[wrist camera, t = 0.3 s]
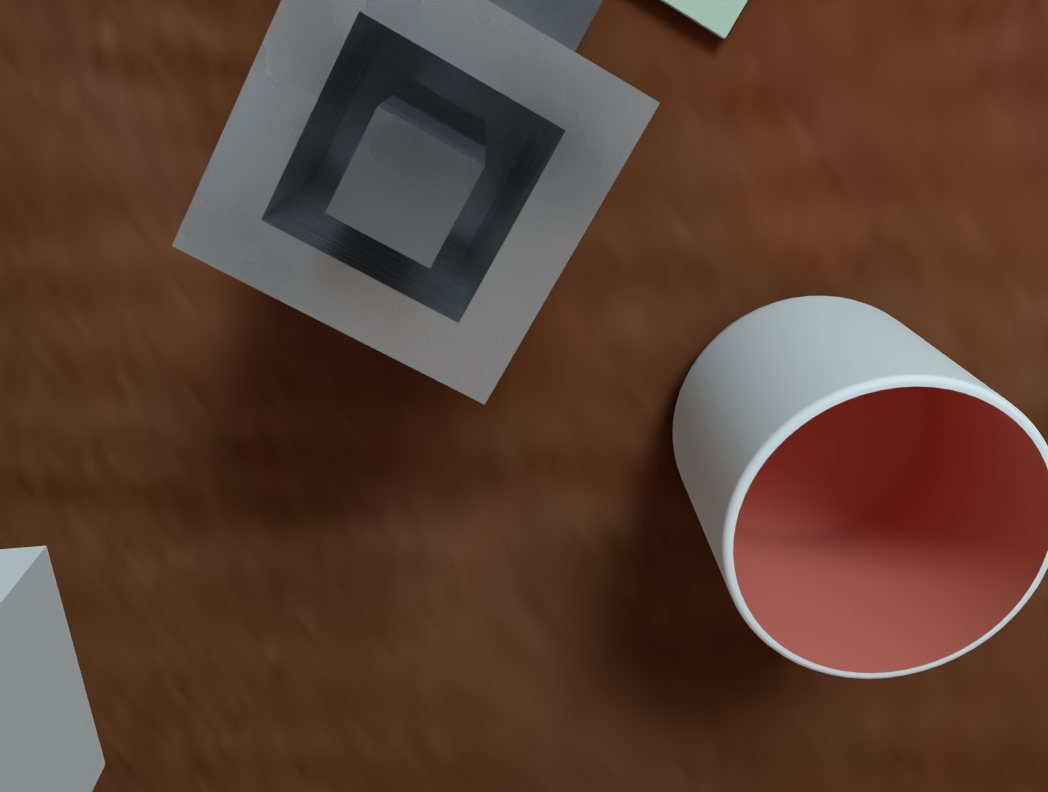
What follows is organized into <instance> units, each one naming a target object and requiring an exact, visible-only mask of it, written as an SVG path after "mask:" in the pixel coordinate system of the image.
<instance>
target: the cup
mask: <svg viewBox="0 0 1048 792" xmlns="http://www.w3.org/2000/svg"><path fill="white" fill-rule="evenodd" d="M672 434H673V448H674V455H675V459H676V463H677V467H678V470H679V473H680V476H681V478H682V481H683V483H684V486H685V488H686V490H687V493H688V495H689V497H690V500H691V502H692V505H693V507H694V509H695V512H696V514H697V516H698V519H699V521H700V524H701V526H702V528H703V531H704V533H705V535H706V538H707V540H708V543H709V545H710V547H711V550H712V552H713V555H714V557H715V559H716V562H717V564H718V566H719V569H720V571H721V574H722V576H723V578H724V581H725V583H726V586H727V588H728V590H729V593H730V595H731V597H732V599H733V601H734V603H735V606H736V608H737V609H738V611H739V613H740V614H741V616H742V617H743V619H744V620H745V622H746V623H747V624H748V626H749V627H750V628H751V629H752V630H753V631H754V632H755V634H756V635H757V636H758V637H759V638H760V639H762V640H763V641H764V642H765V643H766V644H767V645H768V646H770V647H771V648H773V649H774V650H776V651H777V652H778V653H780V654H781V655H783V656H784V657H786V658H788V659H790V660H792V661H793V662H795V663H797V664H799V665H802V666H805V667H807V668H810V669H812V670H815V671H819V672H822V673H826V674H830V675H835V676H841V677H847V678H863V679H872V678H888V677H896V676H903V675H908V674H912V673H916V672H920V671H924V670H927V669H930V668H933V667H936V666H939V665H941V664H944V663H946V662H948V661H950V660H953V659H955V658H957V657H959V656H961V655H963V654H965V653H966V652H968V651H970V650H972V649H974V648H975V647H977V646H978V645H980V644H981V643H983V642H984V641H986V640H987V639H989V638H990V637H991V636H992V635H994V634H995V633H996V632H997V631H999V630H1000V629H1001V628H1002V627H1003V626H1004V625H1005V624H1006V623H1008V622H1009V621H1010V620H1011V619H1012V618H1013V617H1014V616H1015V615H1016V614H1017V612H1018V611H1019V610H1020V609H1021V608H1022V607H1023V605H1024V604H1025V603H1026V602H1027V601H1028V599H1029V598H1030V596H1031V595H1032V594H1033V592H1034V591H1035V589H1036V588H1037V586H1038V585H1039V583H1040V581H1041V580H1042V578H1043V576H1044V574H1045V572H1046V570H1047V568H1048V446H1047V444H1046V442H1045V441H1044V439H1043V437H1042V436H1041V434H1040V433H1039V431H1038V430H1037V429H1036V427H1035V426H1034V425H1033V424H1032V423H1031V421H1030V420H1029V419H1028V418H1027V417H1026V416H1025V415H1024V414H1023V413H1022V412H1021V411H1020V410H1019V409H1017V408H1016V407H1015V406H1013V405H1012V404H1011V403H1010V402H1008V401H1007V400H1006V399H1004V398H1003V397H1001V396H1000V395H999V394H997V393H996V392H995V391H993V390H992V389H991V388H989V387H988V386H986V385H985V384H984V383H982V382H981V381H980V380H978V379H977V378H975V377H974V376H973V375H971V374H970V373H969V372H967V371H966V370H964V369H963V368H962V367H960V366H959V365H958V364H956V363H955V362H953V361H952V360H951V359H949V358H948V357H947V356H945V355H944V354H942V353H941V352H940V351H938V350H937V349H936V348H934V347H933V346H932V345H930V344H929V343H927V342H926V341H925V340H923V339H922V338H921V337H919V336H918V335H916V334H915V333H914V332H912V331H911V330H910V329H908V328H907V327H905V326H904V325H903V324H901V323H900V322H899V321H897V320H896V319H894V318H893V317H891V316H890V315H888V314H886V313H885V312H883V311H881V310H879V309H877V308H874V307H872V306H870V305H867V304H864V303H861V302H858V301H855V300H851V299H846V298H841V297H832V296H804V297H797V298H790V299H786V300H782V301H779V302H775V303H772V304H769V305H766V306H764V307H761V308H759V309H756V310H754V311H753V312H751V313H749V314H747V315H745V316H743V317H741V318H740V319H738V320H737V321H735V322H734V323H732V324H731V325H729V326H728V327H727V328H726V329H724V330H723V331H722V332H721V333H719V334H718V335H717V336H716V337H715V338H714V339H713V340H712V341H711V342H710V343H709V344H708V345H707V347H706V348H705V349H704V350H703V351H702V353H701V354H700V355H699V356H698V358H697V359H696V361H695V362H694V364H693V365H692V367H691V369H690V371H689V372H688V374H687V376H686V378H685V380H684V382H683V385H682V387H681V389H680V393H679V396H678V399H677V403H676V407H675V411H674V418H673V432H672Z"/></svg>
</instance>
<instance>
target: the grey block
mask: <svg viewBox="0 0 1048 792" xmlns="http://www.w3.org/2000/svg"><path fill="white" fill-rule="evenodd" d="M489 1H490V2H492V3H494V4H495V5H497V6H499V7H500V8H502V9H504V10H505V11H507V12H509V13H510V14H512V15H514V16H515V17H517V18H519V19H520V20H522V21H524V22H525V23H527V24H529V25H530V26H532V27H534V28H535V29H537V30H539V31H540V32H542V33H544V34H545V35H547V36H549V37H550V38H552V39H554V40H555V41H557V42H559V43H560V44H562V45H564V46H566V47H567V48H569V49H571V50H572V51H574V52H575V50H576V49H577V47H578V45H579V43H580V41H581V39H582V38H583V36H584V34H585V32H586V30H587V28H588V27H589V25H590V23H591V21H592V19H593V17H594V16H595V14H596V12H597V10H598V8H599V6H600V5H601V3H602V1H603V0H489ZM539 117H540V115H538V114H536V113H535V112H533V111H531V110H530V109H528V108H526V107H524V106H523V105H521V104H519V103H517V102H516V101H514V100H512V99H511V98H509V97H507V96H505V95H504V94H502V93H500V92H498V91H497V90H495V89H493V88H492V87H490V86H488V85H486V84H485V83H483V82H481V81H479V80H478V79H476V78H474V77H473V76H471V75H469V74H467V73H466V72H464V71H462V70H460V69H459V68H457V67H455V66H454V65H452V64H450V63H448V62H447V61H445V60H443V59H441V58H440V57H438V56H436V55H435V54H433V53H431V52H429V51H428V50H426V49H424V48H422V47H421V46H419V45H417V44H416V43H414V42H412V41H410V40H409V39H407V38H405V37H403V36H402V35H400V34H398V33H397V32H395V31H393V30H391V29H390V28H387V30H386V32H385V34H384V36H383V38H382V40H381V42H380V44H379V46H378V48H377V51H376V53H375V55H374V57H373V59H372V61H371V63H370V65H369V67H368V69H367V71H366V73H365V75H364V78H363V80H362V82H361V84H360V86H359V88H358V90H357V92H356V94H355V96H354V98H353V100H352V102H351V104H350V107H349V109H348V111H347V113H346V115H345V117H344V119H343V121H342V123H341V125H340V127H339V129H338V131H337V134H336V136H335V138H334V140H333V142H332V144H331V146H330V148H329V150H328V152H327V154H326V156H325V158H324V160H323V163H322V165H321V167H320V169H319V171H320V172H322V173H324V174H326V175H327V176H329V177H331V178H333V179H335V180H337V181H339V182H340V183H339V186H338V188H337V190H336V192H335V194H334V196H333V198H332V200H331V202H330V204H329V206H328V208H327V210H326V212H325V213H326V214H328V215H330V216H332V217H334V218H335V219H337V220H339V221H341V222H343V223H345V224H347V225H349V226H350V227H352V228H354V229H356V230H358V231H360V232H362V233H364V234H366V235H367V236H369V237H371V238H373V239H375V240H377V241H379V242H381V243H383V244H384V245H386V246H388V247H390V248H392V249H394V250H396V251H398V252H399V253H401V254H403V255H405V256H407V257H409V258H411V259H413V260H415V261H416V262H418V263H420V264H422V265H424V266H426V267H428V268H431V266H432V264H433V262H434V260H435V258H436V256H437V255H438V253H439V251H440V249H441V247H442V245H443V243H444V241H445V240H448V241H450V242H452V243H453V244H455V245H457V246H459V247H461V248H463V249H465V250H466V251H467V249H468V247H469V245H470V243H471V241H472V240H473V238H474V236H475V234H476V232H477V230H478V229H479V227H480V225H481V223H482V221H483V219H484V217H485V216H486V214H487V212H488V210H489V208H490V206H491V205H492V203H493V201H494V199H495V197H496V195H497V194H498V192H499V190H500V188H501V186H502V184H503V183H504V181H505V179H506V177H507V175H508V173H509V172H510V170H511V168H512V166H513V164H514V162H515V161H516V159H517V157H518V155H519V153H520V151H521V150H522V148H523V146H524V144H525V142H526V140H527V139H528V137H529V135H530V133H531V131H532V129H533V128H534V126H535V124H536V122H537V120H538V118H539Z"/></svg>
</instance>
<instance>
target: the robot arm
mask: <svg viewBox="0 0 1048 792" xmlns="http://www.w3.org/2000/svg"><path fill="white" fill-rule="evenodd" d="M104 766H105V761H104V758H103V754H102V750H101V746H100V743H99V739H98V735H97V732H96V728H95V724H94V720H93V717H92V713H91V709H90V706H89V702H88V698H87V695H86V691H85V687H84V683H83V680H82V676H81V672H80V669H79V665H78V661H77V658H76V654H75V650H74V646H73V643H72V639H71V635H70V632H69V628H68V624H67V620H66V617H65V613H64V609H63V606H62V602H61V598H60V595H59V591H58V587H57V583H56V580H55V576H54V572H53V569H52V565H51V561H50V557H49V554H48V550H47V546H38V547H26V548H13V549H1V550H0V792H92V790H93V788H94V786H95V784H96V782H97V780H98V778H99V776H100V774H101V772H102V770H103V768H104Z"/></svg>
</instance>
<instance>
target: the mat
mask: <svg viewBox="0 0 1048 792" xmlns="http://www.w3.org/2000/svg"><path fill="white" fill-rule="evenodd" d="M660 1H662V2H663V3H665V4H667V5H668V6H670V7H672V8H673V9H675V10H676V11H678V12H680V13H681V14H683V15H684V16H686V17H688V18H689V19H691V20H692V21H694V22H696V23H697V24H699V25H700V26H702V27H704V28H705V29H707V30H709V31H710V32H712V33H713V34H715V35H717V36H718V37H720V38H723V39H725V38H726V36H727V34H728V33H729V31H730V29H731V28H732V26H733V24H734V23H735V21H736V19H737V18H738V16H739V14H740V12H741V11H742V9H743V7H744V6H745V4H746V2H747V1H748V0H660Z"/></svg>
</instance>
